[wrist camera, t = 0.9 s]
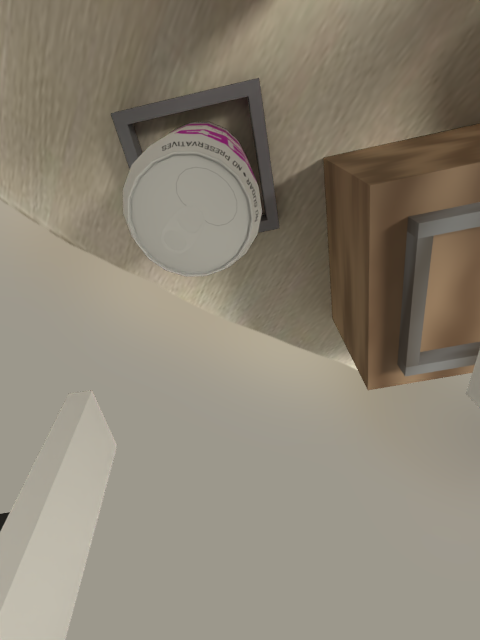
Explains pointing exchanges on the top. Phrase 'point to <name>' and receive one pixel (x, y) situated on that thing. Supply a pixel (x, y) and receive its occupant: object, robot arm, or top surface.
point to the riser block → (407, 256)
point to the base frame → (205, 98)
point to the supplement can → (193, 200)
